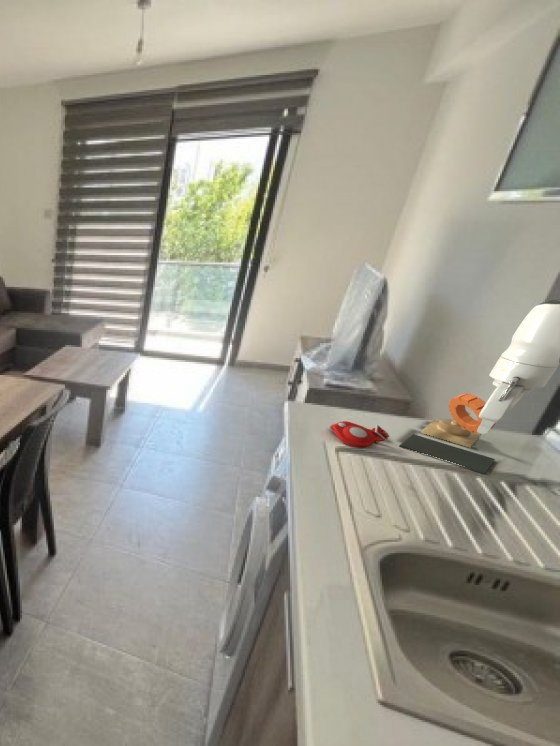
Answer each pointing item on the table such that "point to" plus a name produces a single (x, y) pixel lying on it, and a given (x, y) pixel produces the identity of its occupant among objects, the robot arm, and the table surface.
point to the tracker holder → (358, 434)
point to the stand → (451, 432)
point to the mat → (448, 453)
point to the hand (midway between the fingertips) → (484, 429)
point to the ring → (461, 414)
